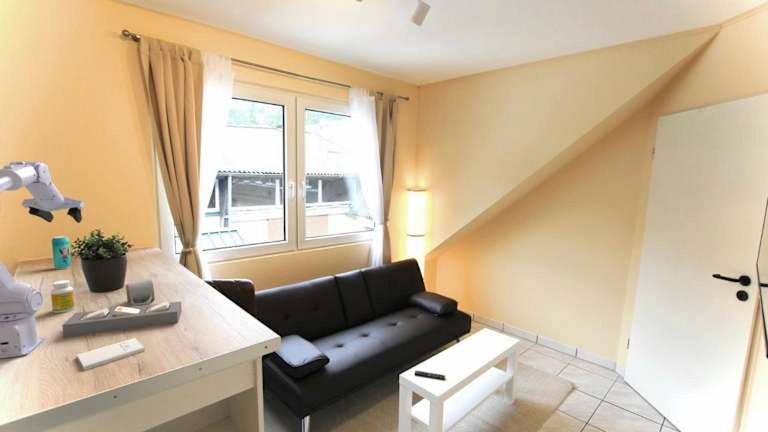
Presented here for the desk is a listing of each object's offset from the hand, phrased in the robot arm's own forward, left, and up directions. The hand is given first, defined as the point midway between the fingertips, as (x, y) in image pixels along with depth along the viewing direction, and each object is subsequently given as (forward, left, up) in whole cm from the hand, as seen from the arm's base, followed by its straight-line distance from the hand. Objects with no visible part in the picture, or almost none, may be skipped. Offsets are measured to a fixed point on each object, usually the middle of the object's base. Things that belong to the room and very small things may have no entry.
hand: (65, 220), depth 113 cm
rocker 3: (-20, -28, -27) cm, 43 cm away
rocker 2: (-20, -20, -27) cm, 39 cm away
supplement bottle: (-1, +2, -30) cm, 31 cm away
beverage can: (+59, +23, -30) cm, 70 cm away
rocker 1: (-20, -12, -27) cm, 35 cm away
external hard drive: (-40, -21, -31) cm, 55 cm away
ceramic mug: (-1, -20, -31) cm, 36 cm away
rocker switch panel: (-20, -20, -30) cm, 41 cm away
